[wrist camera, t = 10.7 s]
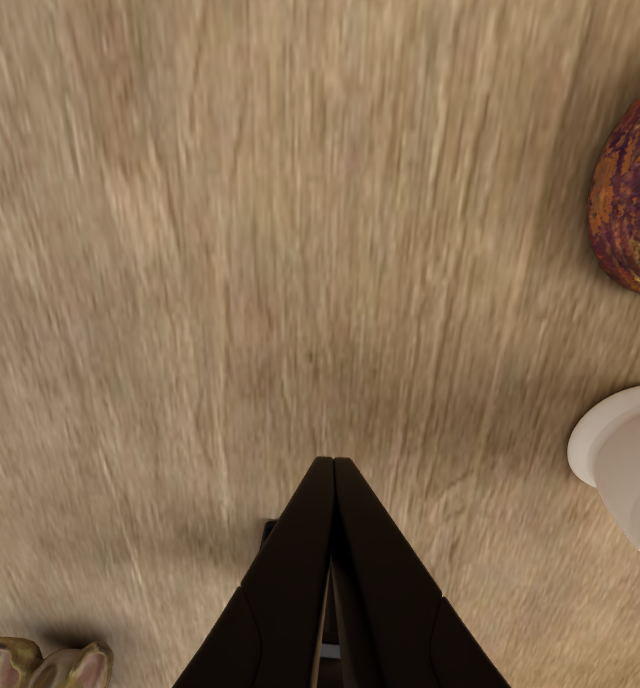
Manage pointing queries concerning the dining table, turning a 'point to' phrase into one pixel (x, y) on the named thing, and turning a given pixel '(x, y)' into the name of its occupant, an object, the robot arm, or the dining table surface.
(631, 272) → the brown clay pot
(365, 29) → the dining table surface
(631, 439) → the jar
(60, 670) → the ceramic sculpture
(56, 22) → the dining table surface
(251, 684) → the robot arm
